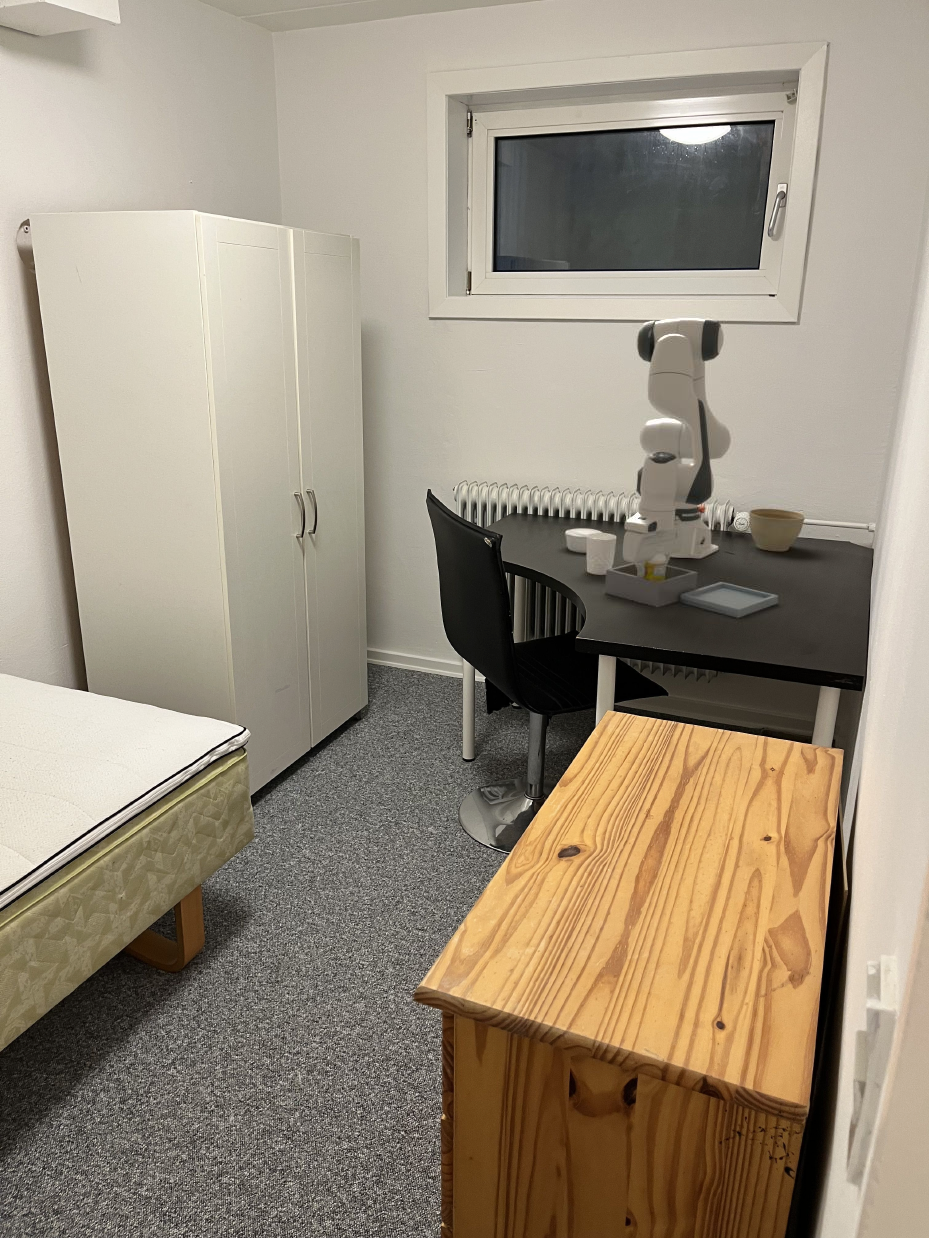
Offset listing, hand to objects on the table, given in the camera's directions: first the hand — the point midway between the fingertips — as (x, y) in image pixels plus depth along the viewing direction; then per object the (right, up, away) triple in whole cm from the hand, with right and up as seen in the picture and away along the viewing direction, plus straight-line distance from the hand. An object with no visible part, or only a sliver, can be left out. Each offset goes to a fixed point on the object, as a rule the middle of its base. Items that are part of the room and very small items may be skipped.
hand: (651, 574), depth 228 cm
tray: (+18, -7, -4) cm, 20 cm away
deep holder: (0, -5, +2) cm, 5 cm away
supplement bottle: (0, -5, +2) cm, 5 cm away
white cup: (-10, +2, +21) cm, 24 cm away
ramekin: (-11, +10, +46) cm, 49 cm away
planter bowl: (+48, +10, +52) cm, 71 cm away
